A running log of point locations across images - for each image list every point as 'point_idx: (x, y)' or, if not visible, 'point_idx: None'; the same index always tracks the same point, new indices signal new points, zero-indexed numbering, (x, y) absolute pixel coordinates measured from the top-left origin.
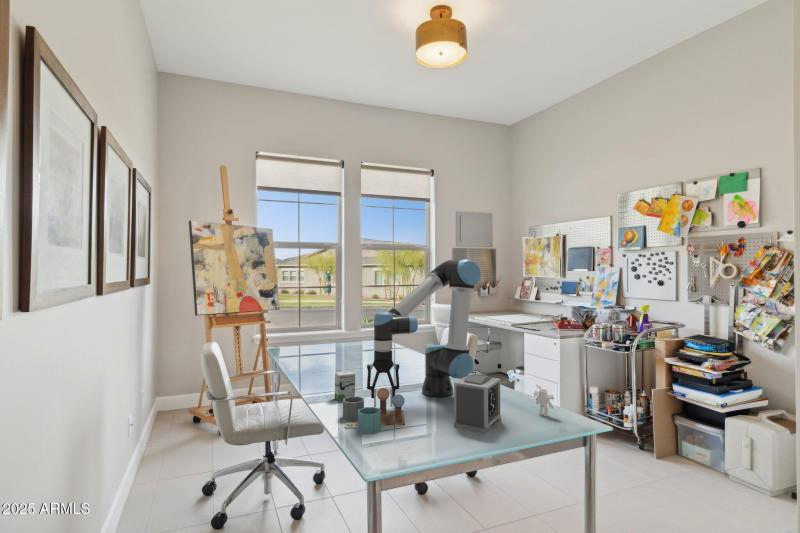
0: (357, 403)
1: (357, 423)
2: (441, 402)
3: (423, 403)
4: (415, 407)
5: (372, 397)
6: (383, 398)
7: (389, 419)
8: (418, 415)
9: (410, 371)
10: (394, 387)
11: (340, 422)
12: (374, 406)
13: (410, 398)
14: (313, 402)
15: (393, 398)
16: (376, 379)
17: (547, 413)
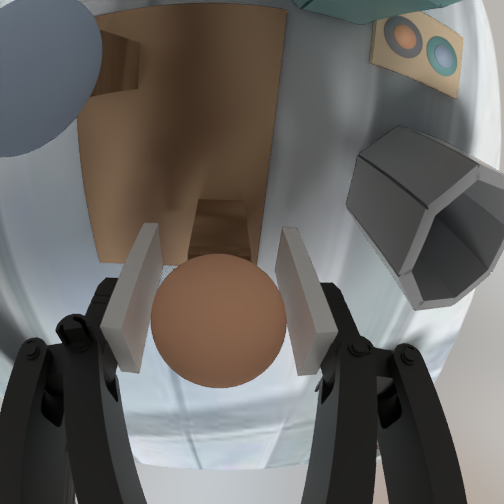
0: (472, 162)
1: (408, 54)
2: (8, 329)
3: (52, 333)
4: (63, 300)
5: (328, 288)
6: (215, 254)
7: (177, 90)
8: (22, 192)
9: (165, 462)
10: (64, 361)
11: (466, 125)
12: (294, 230)
13: None
14: (450, 339)
15: (51, 17)
16: (342, 482)
17: None
